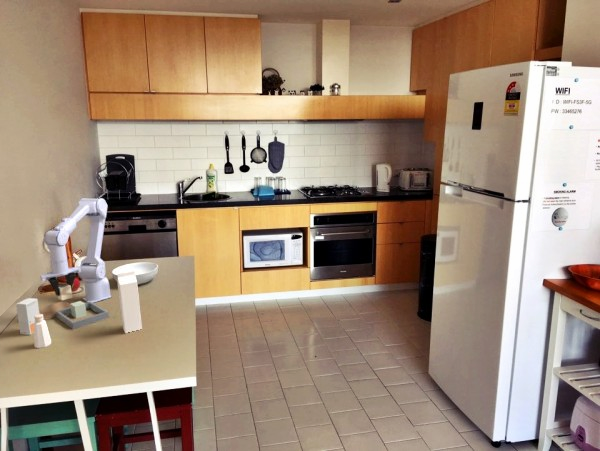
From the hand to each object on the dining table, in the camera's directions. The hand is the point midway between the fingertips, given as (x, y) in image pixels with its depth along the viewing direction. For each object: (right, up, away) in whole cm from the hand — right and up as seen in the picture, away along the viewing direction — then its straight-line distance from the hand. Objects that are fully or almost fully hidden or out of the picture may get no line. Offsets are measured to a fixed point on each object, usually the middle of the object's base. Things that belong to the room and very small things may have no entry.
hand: (63, 293), depth 187 cm
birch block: (0, -2, 0) cm, 2 cm away
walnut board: (-7, -9, +6) cm, 13 cm away
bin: (+8, -9, 0) cm, 12 cm away
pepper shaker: (+4, -15, -22) cm, 27 cm away
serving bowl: (+15, 0, +40) cm, 43 cm away
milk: (+31, -12, -11) cm, 35 cm away
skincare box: (-6, -13, -12) cm, 18 cm away
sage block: (+5, -9, +2) cm, 11 cm away
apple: (-10, -3, +30) cm, 32 cm away
